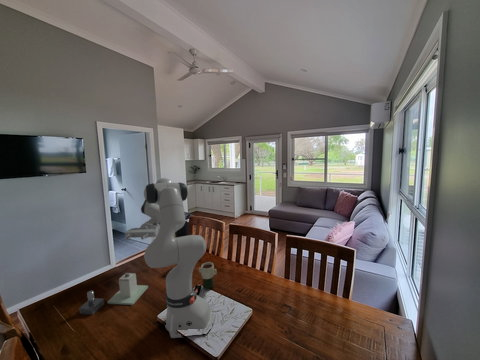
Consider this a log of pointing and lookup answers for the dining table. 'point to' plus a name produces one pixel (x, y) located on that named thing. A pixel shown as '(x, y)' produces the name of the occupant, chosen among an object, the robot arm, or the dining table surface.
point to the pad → (128, 300)
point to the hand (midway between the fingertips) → (134, 238)
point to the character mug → (207, 274)
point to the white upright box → (128, 284)
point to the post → (91, 304)
